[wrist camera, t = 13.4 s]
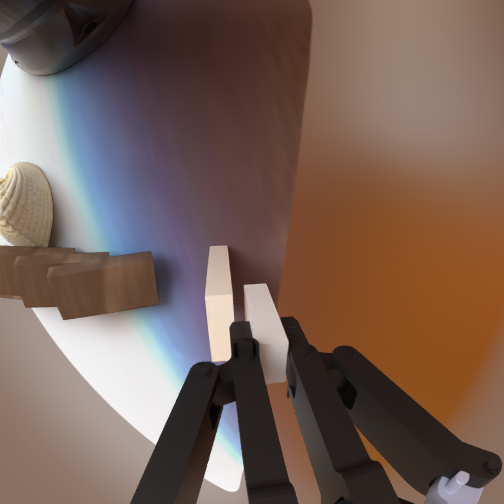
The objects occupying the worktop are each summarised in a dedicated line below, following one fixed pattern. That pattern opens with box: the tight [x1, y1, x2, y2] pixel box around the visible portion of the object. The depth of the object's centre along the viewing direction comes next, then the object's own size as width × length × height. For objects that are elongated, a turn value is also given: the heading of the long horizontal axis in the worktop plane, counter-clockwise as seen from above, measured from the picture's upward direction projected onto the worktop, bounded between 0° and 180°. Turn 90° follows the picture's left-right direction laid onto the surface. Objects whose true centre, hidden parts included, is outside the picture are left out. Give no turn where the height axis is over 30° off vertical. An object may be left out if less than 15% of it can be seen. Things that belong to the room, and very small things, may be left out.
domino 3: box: [46, 251, 159, 320], centre depth 22 cm, size 2×5×10 cm
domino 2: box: [13, 252, 109, 308], centre depth 21 cm, size 2×5×10 cm
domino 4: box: [205, 245, 234, 361], centre depth 21 cm, size 2×5×10 cm, turn 1°
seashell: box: [0, 162, 53, 247], centre depth 19 cm, size 8×8×8 cm
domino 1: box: [0, 246, 75, 296], centre depth 20 cm, size 2×5×10 cm
